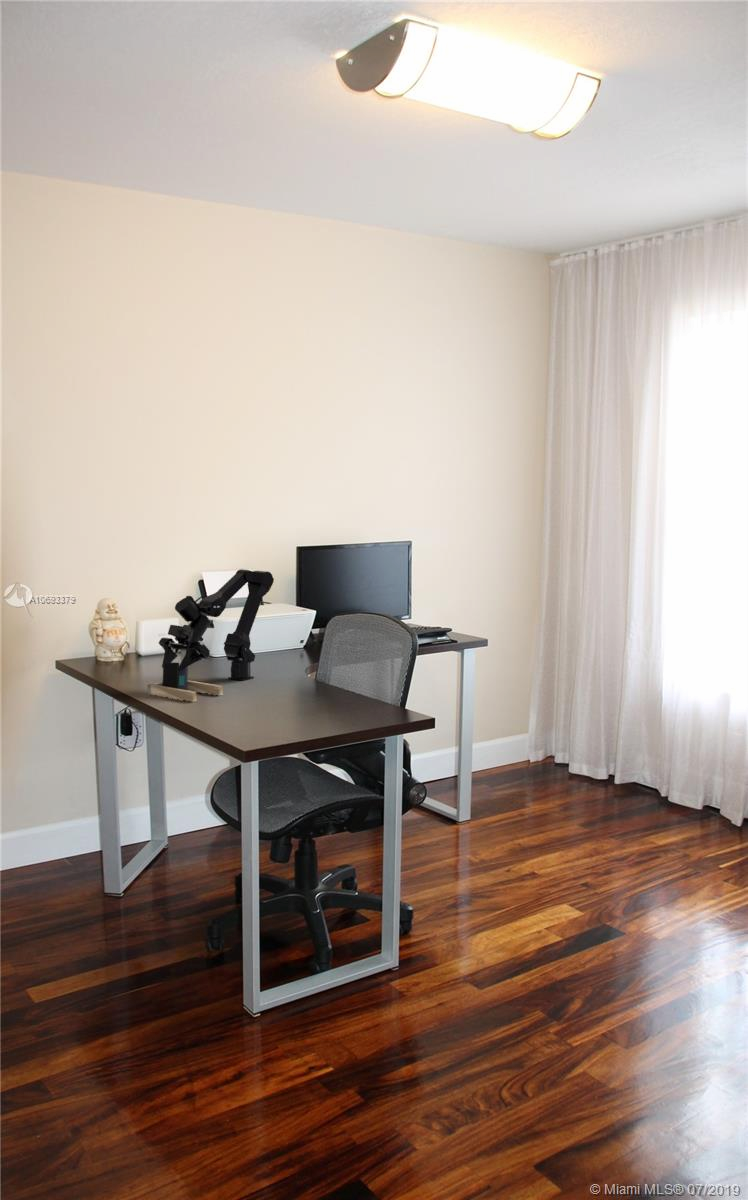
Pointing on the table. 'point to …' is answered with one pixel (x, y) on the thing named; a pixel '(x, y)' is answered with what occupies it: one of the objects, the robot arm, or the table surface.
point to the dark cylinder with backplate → (174, 676)
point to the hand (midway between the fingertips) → (170, 668)
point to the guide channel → (184, 694)
